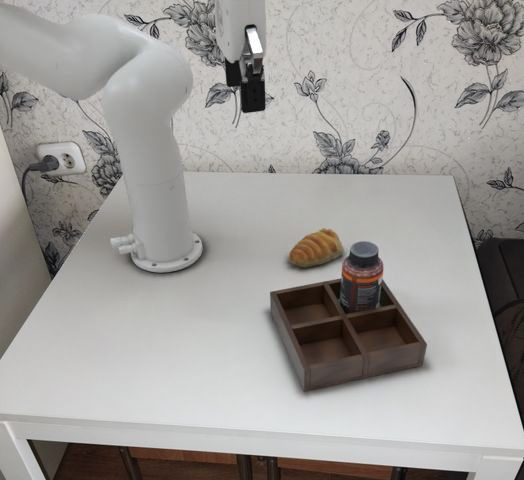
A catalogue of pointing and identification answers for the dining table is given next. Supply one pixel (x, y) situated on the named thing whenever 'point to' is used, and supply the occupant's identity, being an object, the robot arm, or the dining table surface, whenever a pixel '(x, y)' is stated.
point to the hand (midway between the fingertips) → (245, 97)
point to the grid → (343, 335)
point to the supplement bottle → (361, 278)
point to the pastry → (316, 249)
